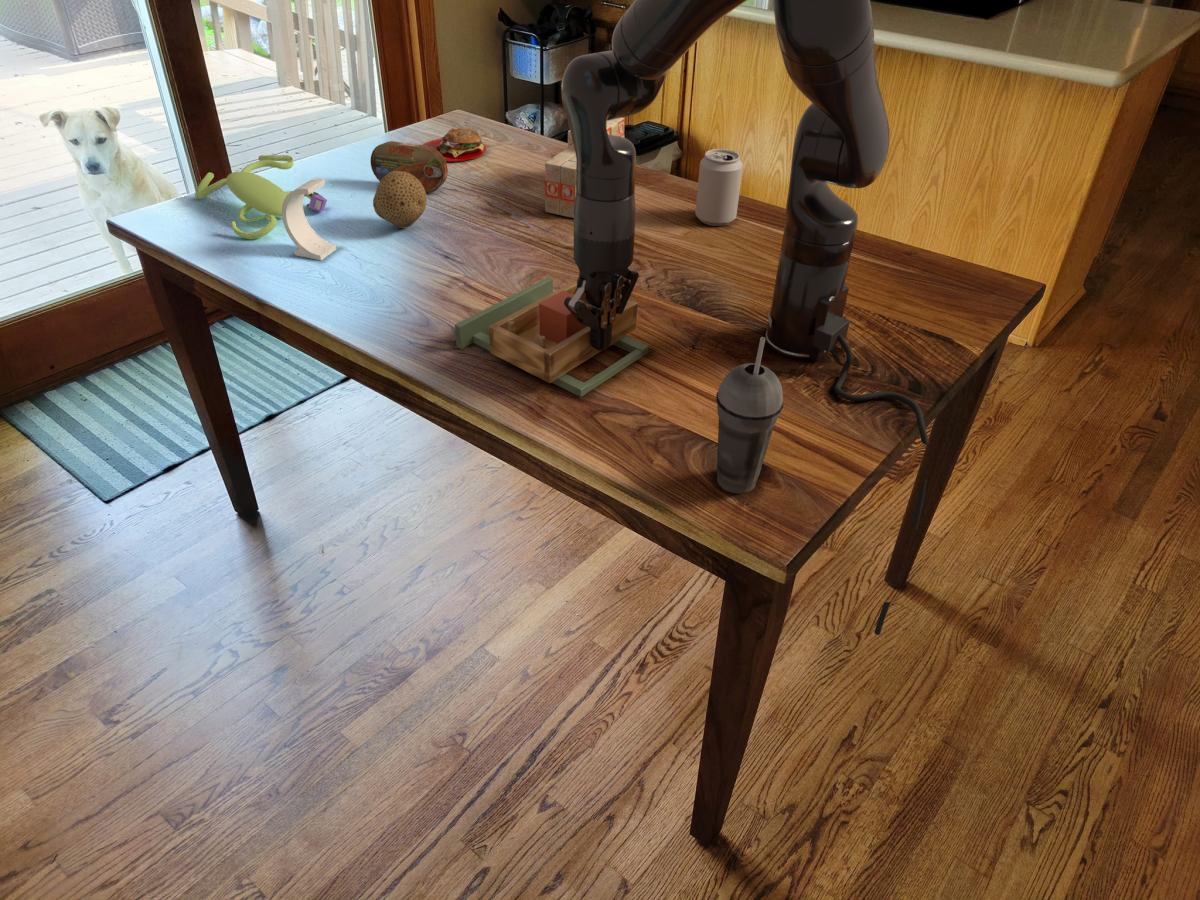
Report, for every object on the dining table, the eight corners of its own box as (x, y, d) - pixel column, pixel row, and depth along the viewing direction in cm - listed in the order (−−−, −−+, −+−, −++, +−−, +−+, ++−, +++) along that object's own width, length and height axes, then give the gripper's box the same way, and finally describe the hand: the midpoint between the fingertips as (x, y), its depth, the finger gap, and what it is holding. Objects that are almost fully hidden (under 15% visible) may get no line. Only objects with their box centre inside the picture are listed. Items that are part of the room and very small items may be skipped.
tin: (372, 185, 167) (366, 141, 162) (380, 179, 170) (374, 135, 164) (444, 196, 164) (440, 151, 159) (451, 190, 166) (447, 146, 161)
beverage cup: (761, 461, 104) (788, 314, 92) (773, 501, 99) (803, 351, 86) (701, 460, 104) (720, 313, 92) (709, 501, 98) (730, 351, 86)
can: (734, 229, 156) (742, 163, 148) (692, 225, 157) (698, 159, 149) (737, 213, 161) (745, 148, 154) (697, 208, 162) (703, 144, 155)
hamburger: (462, 135, 190) (460, 106, 187) (499, 153, 182) (498, 124, 178) (406, 148, 183) (403, 119, 179) (442, 168, 175) (439, 138, 171)
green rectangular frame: (657, 346, 124) (659, 324, 122) (569, 405, 112) (569, 382, 110) (548, 297, 134) (548, 276, 132) (456, 347, 123) (454, 324, 120)
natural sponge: (435, 235, 150) (429, 179, 144) (383, 243, 148) (375, 186, 142) (423, 215, 157) (417, 160, 151) (373, 221, 154) (365, 166, 148)
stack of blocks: (575, 219, 157) (575, 151, 150) (544, 213, 159) (543, 145, 152) (622, 180, 173) (625, 116, 165) (594, 174, 175) (595, 111, 167)
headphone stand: (321, 260, 142) (307, 189, 135) (289, 254, 144) (274, 183, 136) (336, 249, 146) (324, 178, 138) (306, 243, 147) (292, 173, 140)
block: (590, 333, 121) (590, 301, 118) (566, 348, 118) (566, 315, 115) (563, 321, 124) (563, 289, 120) (539, 335, 120) (538, 303, 117)
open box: (636, 329, 125) (638, 297, 121) (549, 383, 113) (549, 349, 110) (578, 304, 130) (578, 272, 127) (490, 353, 119) (487, 319, 116)
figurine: (286, 173, 171) (280, 144, 167) (345, 219, 155) (340, 188, 151) (190, 194, 162) (181, 164, 158) (243, 245, 146) (235, 213, 142)
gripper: (593, 252, 101) (590, 378, 111) (660, 218, 109) (652, 337, 120) (545, 234, 104) (547, 357, 115) (613, 201, 112) (609, 319, 123)
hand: (600, 347), depth 117 cm, fingers closed
